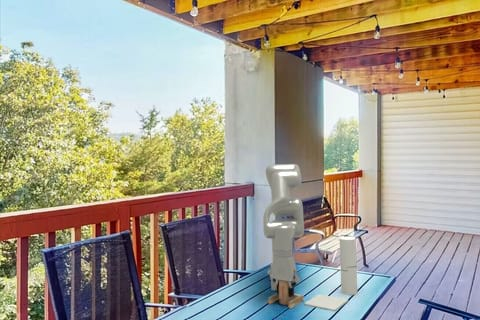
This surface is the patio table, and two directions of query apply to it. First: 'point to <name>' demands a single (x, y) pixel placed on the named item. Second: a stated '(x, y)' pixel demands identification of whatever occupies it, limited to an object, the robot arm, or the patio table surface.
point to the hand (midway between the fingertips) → (285, 294)
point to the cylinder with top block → (284, 292)
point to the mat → (326, 302)
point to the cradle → (294, 301)
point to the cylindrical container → (348, 265)
